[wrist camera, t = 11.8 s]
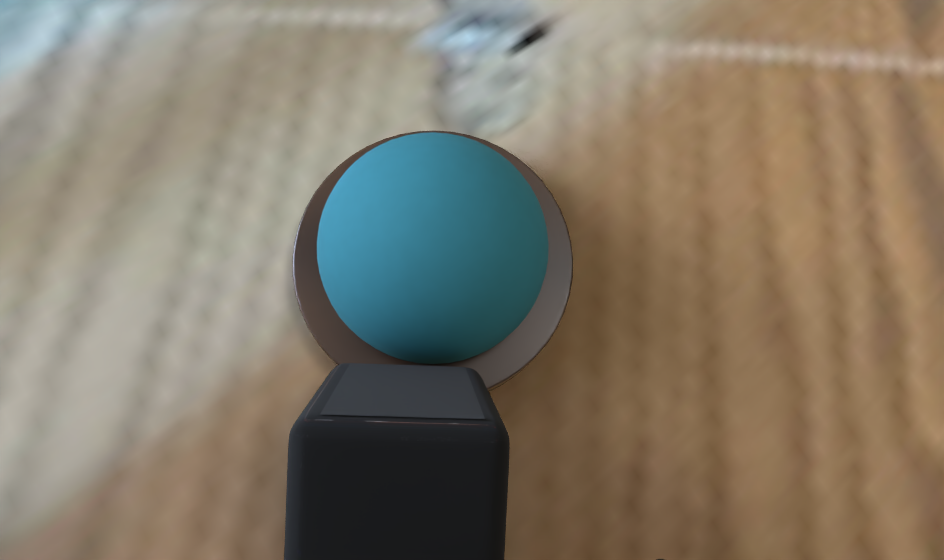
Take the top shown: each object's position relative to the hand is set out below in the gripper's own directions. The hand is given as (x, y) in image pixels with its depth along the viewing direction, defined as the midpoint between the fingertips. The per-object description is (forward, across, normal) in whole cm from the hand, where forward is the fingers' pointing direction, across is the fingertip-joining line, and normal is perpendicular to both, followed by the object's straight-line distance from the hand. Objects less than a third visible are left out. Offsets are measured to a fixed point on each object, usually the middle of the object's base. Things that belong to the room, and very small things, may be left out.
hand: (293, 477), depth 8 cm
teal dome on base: (+15, 0, +6) cm, 16 cm away
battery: (+7, 0, +4) cm, 8 cm away
